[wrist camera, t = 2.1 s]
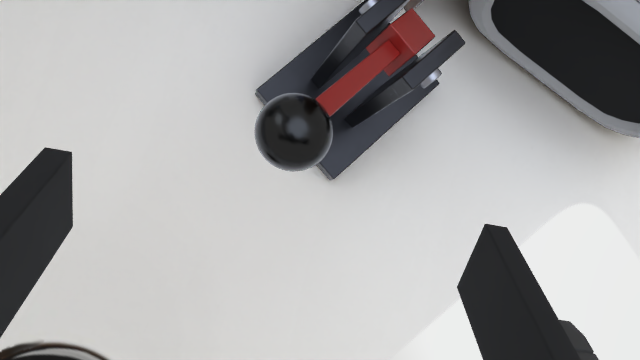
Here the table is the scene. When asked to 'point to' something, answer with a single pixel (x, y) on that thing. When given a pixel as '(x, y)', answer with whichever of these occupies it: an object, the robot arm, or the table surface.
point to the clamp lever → (332, 99)
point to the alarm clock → (574, 51)
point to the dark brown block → (412, 4)
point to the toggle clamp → (374, 98)
